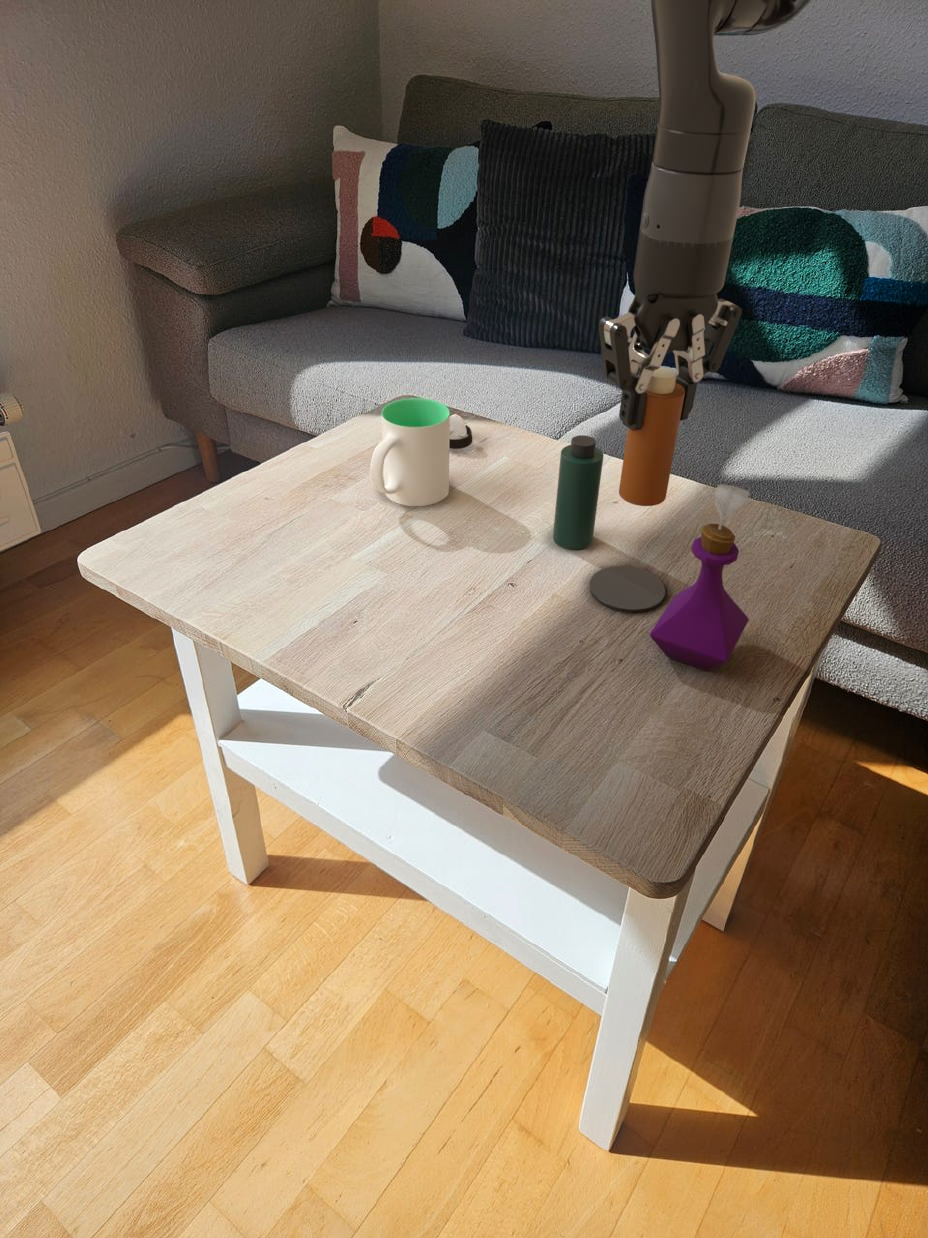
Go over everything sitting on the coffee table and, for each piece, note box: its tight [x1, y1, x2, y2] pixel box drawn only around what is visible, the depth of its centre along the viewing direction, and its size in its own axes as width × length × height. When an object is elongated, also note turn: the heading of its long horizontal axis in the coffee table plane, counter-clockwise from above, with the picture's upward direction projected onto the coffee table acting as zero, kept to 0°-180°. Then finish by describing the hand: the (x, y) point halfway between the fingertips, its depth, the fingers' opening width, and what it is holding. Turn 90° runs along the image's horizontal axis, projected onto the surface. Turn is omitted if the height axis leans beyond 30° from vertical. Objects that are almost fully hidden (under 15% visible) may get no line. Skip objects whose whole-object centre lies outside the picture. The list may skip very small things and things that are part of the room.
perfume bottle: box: [649, 484, 751, 672], centre depth 79 cm, size 8×8×18 cm
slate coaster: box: [588, 565, 666, 613], centre depth 93 cm, size 8×8×1 cm
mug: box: [369, 397, 451, 507], centre depth 104 cm, size 12×8×10 cm, turn 149°
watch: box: [449, 413, 473, 450], centre depth 119 cm, size 8×5×4 cm, turn 43°
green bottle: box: [552, 434, 604, 551], centre depth 97 cm, size 5×5×12 cm
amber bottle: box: [618, 366, 685, 507], centre depth 82 cm, size 5×5×12 cm
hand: (654, 421), depth 81 cm, fingers closed on amber bottle, 4 cm apart
